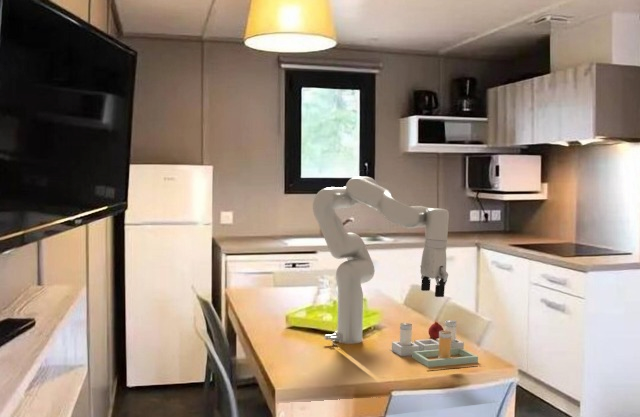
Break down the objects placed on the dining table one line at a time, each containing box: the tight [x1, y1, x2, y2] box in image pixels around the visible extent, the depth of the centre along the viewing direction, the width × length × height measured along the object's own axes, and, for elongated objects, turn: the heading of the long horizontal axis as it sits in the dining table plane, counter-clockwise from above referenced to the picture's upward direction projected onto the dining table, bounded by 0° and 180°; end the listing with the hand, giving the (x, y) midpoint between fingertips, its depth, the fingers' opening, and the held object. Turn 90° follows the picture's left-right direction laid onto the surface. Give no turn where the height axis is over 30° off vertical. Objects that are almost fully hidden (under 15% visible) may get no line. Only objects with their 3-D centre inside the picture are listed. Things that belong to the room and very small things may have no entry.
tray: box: [411, 348, 479, 372], centre depth 208 cm, size 19×11×4 cm, turn 109°
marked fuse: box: [437, 330, 452, 359], centre depth 208 cm, size 4×4×10 cm
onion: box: [428, 320, 445, 340], centre depth 237 cm, size 6×6×8 cm
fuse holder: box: [389, 338, 465, 358], centre depth 219 cm, size 26×9×4 cm, turn 109°
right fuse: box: [444, 319, 458, 343], centre depth 221 cm, size 4×4×10 cm
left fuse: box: [399, 322, 413, 346], centre depth 216 cm, size 4×4×10 cm
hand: (432, 293), depth 211 cm, fingers open, 9 cm apart
